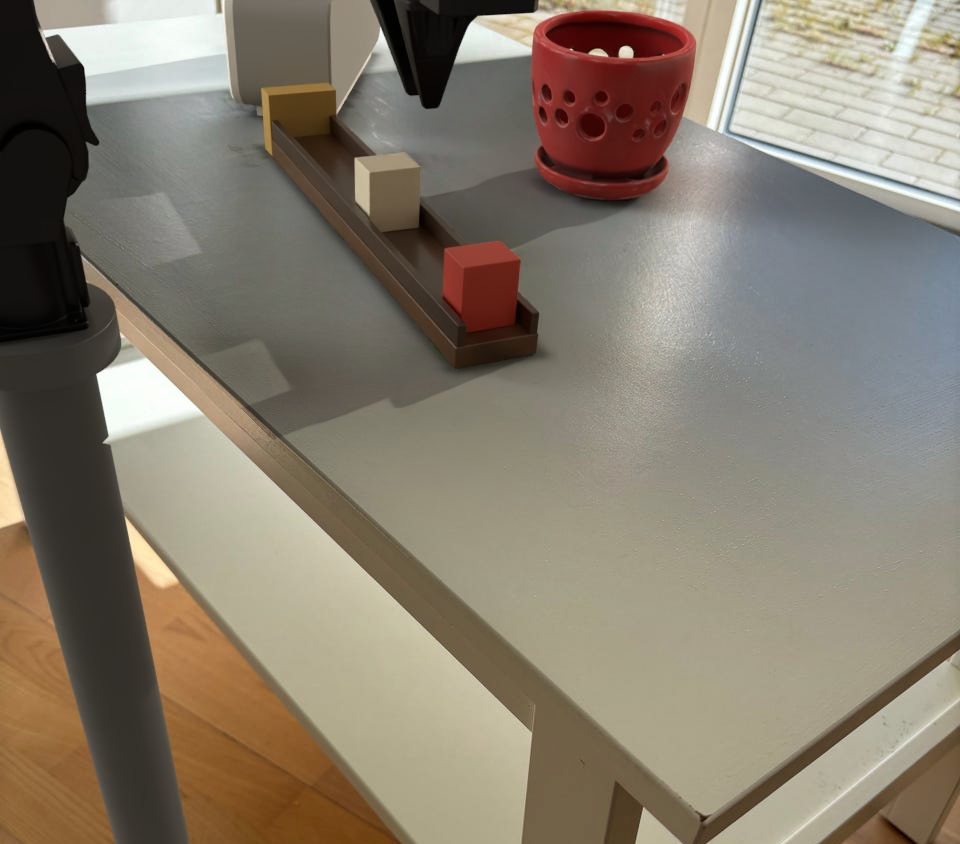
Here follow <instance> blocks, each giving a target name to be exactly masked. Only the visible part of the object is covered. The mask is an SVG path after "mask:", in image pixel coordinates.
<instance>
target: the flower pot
mask: <svg viewBox="0 0 960 844" xmlns="http://www.w3.org/2000/svg"><path fill="white" fill-rule="evenodd" d="M531 45H532V46H531V59H530V60H531V62H530V63H531V64H530V65H531V67H530V72H531V73H530V76H531V77H530V78H531V103H532V112H533V118H534V123H535V127H536V128H535V129H536V131H537V134H538V137H539V140H540V143H541V144H540V145H539V146H538V147H537V149H536V150H535V153H534V164H535V167H536V168H537V171H538V173H539V174H540V176H541V177H542V178H543V180H545V181H546V182H547V183H548V184H550V185H551V186H553V187H555V188H556V189H558V190H560V191H562V192H564V193H567V194H569V195H573V196H576V197H580V198H583V199H588V200H599V201H619V200H621V201H622V200H624V201H631V200H633V199H634V198H639V197H641V196H643V195H646V194H649V193H650V192H653V191H654V190H655V189H657V188H658V187H659V186H660V185H661V184H663V182H664V181H665V180H666V178H667V175H668V173H669V170H670V163H669V160H668V158H667V157H666V156H665V155H664V154H665V153H666V151H667V150H668V149H669V147H670V145H671V143H672V142H673V140H674V138H675V136H676V134H677V132H678V129H679V127H680V124H681V122H682V119H683V115H684V112H685V109H686V106H687V102H688V100H689V95H690V90H691V85H692V81H693V75H694V71H695V70H694V69H695V63H696V54H697V40H696V38H695V36H694V34H693V33H692V32H691V31H689V29H687V28H686V27H684V26H683V25H681V24H678V23H676V22H673V21H671V20H668V19H666V18H661V17H658V16H653V15H649V14H645V13H644V14H643V13H639V12H631V11H621V10H607V9H606V10H605V9H604V10H603V9H600V10H599V9H592V10H589V9H588V10H587V9H586V10H578V11H571V12H565V13H560V14H556V15H554V16H551V17H548V18H547V19H544V20H542V21H541V22H539V23H538V24H537V25H536V26H535V28H534V30H533V33H532V44H531ZM623 47H627V48H630V49H631V51H632V57H620V51H621V49H622V48H623ZM594 50H601V51H603V52H604V53H605V54H606V55H607V56H606V55H598V54H590V53H591V52H593V51H594Z"/></svg>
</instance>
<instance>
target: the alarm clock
mask: <svg viewBox="0 0 960 844" xmlns="http://www.w3.org/2000/svg"><path fill="white" fill-rule="evenodd" d="M222 19H223V20H222V21H223V31H224V40H225V41H224V42H225V54H226V64H227V78H228V87H229V92H230V95H231V98H232V99H233V101H234V102H235V103H236V104H240V105H250V106H256V116H260V117H263V107H262V92H261V88H266V87H279V86H292V85H305V84H318V83H329V84H330V85H331V86H332V87H333V88H334V89H335V90H336V108H337V115H338V114H339V112H340V110H341V108H342V107H343V105H344V103H345V102H346V100H347V98H348V97H349V94H350V93H351V91H352V89H354V86H355V84H356V83H357V81H358V79H359V78H360V76H361V75H362V72H363V71H364V69H365V67H366V65H368V63H369V61H370V58H371V57H372V51H373V50H374V48H375V46H376V44H377V43H378V41H379V38H380V32H381V27H380V24H379V22H378V19H377V17H376V14H375V12H374V9H373V7H372V4H371V2H370V0H222Z"/></svg>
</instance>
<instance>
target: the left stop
mask: <svg viewBox="0 0 960 844" xmlns="http://www.w3.org/2000/svg"><path fill="white" fill-rule="evenodd" d="M261 92H262V107H263V116H262V121H263V122H262V123H263V134H264V135H263V136H264V149H265V150H266V151H267V152H268V154H269V155H270V156H271V157H272V158H273V156H272V141H271V140H272V139H273V138H272V124H271V121H274V120H278V121H279V122H280V123H281V124H282V125H283V126H284V128H285V129H286V130H287V131H288V132H289V133H290V134H291V135H292V136H293V137H301V136H311V135H322V134H330V115H336V116H337V117H338V114H337V108H336V90H335V89H334V88H333V87H332V86H331V85H330V84H329V83H318V84H305V85H292V86H279V87H266V88H261Z"/></svg>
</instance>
